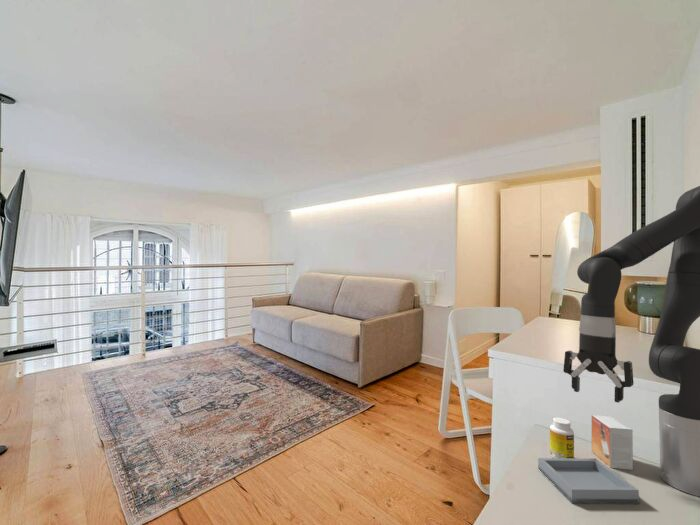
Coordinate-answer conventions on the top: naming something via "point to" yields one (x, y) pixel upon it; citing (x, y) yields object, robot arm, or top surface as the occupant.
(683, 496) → the top surface
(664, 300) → the robot arm
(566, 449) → the supplement bottle
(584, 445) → the top surface
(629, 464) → the small box
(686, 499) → the top surface
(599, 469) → the slate tray
